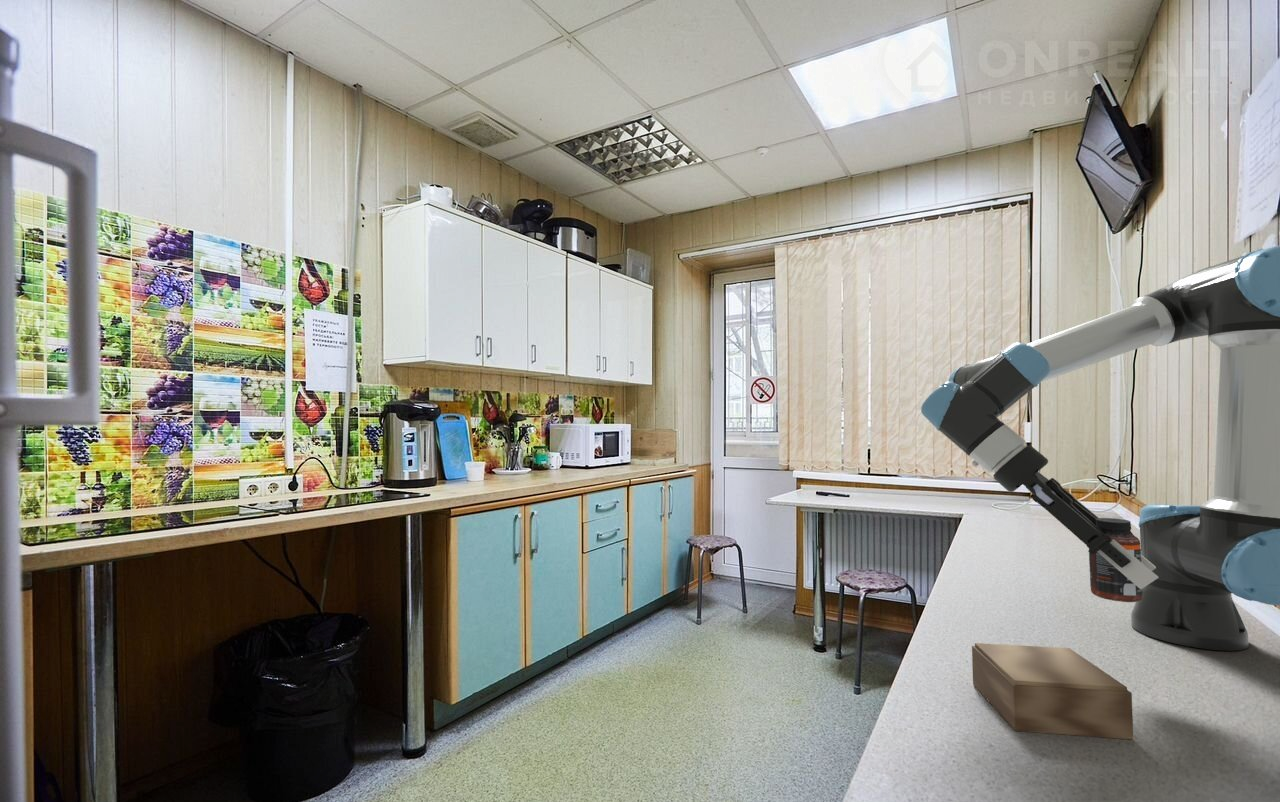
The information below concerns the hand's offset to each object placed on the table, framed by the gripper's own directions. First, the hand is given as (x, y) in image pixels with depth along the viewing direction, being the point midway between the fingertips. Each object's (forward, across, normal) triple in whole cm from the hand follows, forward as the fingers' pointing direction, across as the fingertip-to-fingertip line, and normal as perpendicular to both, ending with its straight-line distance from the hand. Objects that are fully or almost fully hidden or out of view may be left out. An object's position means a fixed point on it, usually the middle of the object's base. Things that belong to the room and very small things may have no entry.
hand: (1148, 577), depth 83 cm
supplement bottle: (0, 0, -5) cm, 5 cm away
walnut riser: (+3, +16, -19) cm, 25 cm away
